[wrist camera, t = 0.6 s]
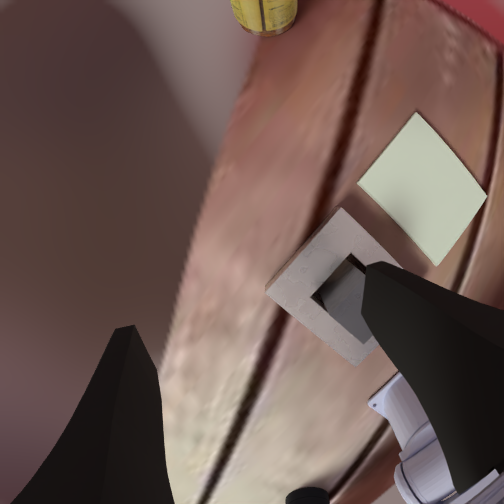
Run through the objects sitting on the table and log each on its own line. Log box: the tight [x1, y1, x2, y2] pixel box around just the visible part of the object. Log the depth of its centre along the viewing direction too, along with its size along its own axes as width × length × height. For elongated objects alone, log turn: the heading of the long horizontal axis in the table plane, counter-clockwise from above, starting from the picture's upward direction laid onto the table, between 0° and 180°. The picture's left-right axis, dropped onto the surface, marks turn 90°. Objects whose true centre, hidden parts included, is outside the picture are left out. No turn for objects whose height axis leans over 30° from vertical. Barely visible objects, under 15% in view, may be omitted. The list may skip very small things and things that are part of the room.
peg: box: [317, 259, 373, 344], centre depth 26 cm, size 4×4×7 cm
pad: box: [357, 112, 487, 266], centre depth 27 cm, size 12×10×1 cm
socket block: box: [265, 206, 403, 367], centre depth 29 cm, size 12×10×2 cm
